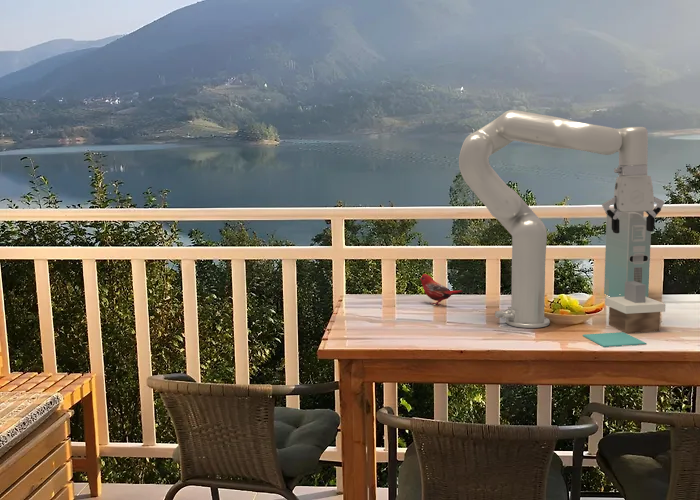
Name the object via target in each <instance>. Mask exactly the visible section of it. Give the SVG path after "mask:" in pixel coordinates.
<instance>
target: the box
mask: <svg viewBox="0 0 700 500" xmlns="http://www.w3.org/2000/svg"><path fill="white" fill-rule="evenodd" d="M608 307H609V306H608ZM608 309H609V310H608V326H610V327H612V328H614V329H616V330H618V331H620V332H624V333H626V334H636V333H635V332H640V333H654V332H655V333H656V332H660V331H661V330H660V328H661V312H648V313H631V314H625V313H623V312H620V311H618V310H616V309H613V308H611V307H609V308H608Z"/></svg>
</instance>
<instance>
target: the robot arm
mask: <svg viewBox="0 0 700 500" xmlns="http://www.w3.org/2000/svg"><path fill="white" fill-rule="evenodd" d="M648 133H649V132H648V129H647V128H646V127H644V126H629V127H628V126H627V127H623V128H614V127H610V126H605V125H599V124H592V123H586V122H581V121H576V120H571V119H567V118H563V117H559V116H558V117H557V116H552V115H547V114H540V113H534V112H529V111H522V110H517V109H509V110H507V111H504V112H503V113H502V114H501V115H499V116H498V117H496V118H495V119H494V120H492V121H490V122H489V123H487V124H486V125H484V126H482V127H481V128H479V129H478V130H476V131H474V132H471V133H470V134H469V135H467V136H466V137H465V139H464V141H463V142H462V146H461V149H460V152H459V155H458V166H459V171H460V175H461V177H462V179H463V181H464V182H465V183H466V185H467V186H468V187H469V189H470V190H471V191H472V192H473V194H475V195H476V196H477V199H479V201H481V203H482V204H483V205H484V206H485V207H486V209H487V210H488V212H489V213H490V215H492V217H494V219H496V220H497V221H498V222H499V223H500V224H501V226H502V227H503V228H504V229H505V230H507V231H506V232H508V233H509V234H510V235H511V238H512V239H511V241H512V243H511V299H510V300H511V304H510V305H511V306H507V309H506V310H499V311H498V310H497V311H495V313H494V316H495V318H496V319H497V318H498V319H499V318H502V319H505V323H506V324H507V325H508V326H512V327H516V328H521V329H522V328H524V329H539V328H545V327H547V326H549V325H550V323H551V322H550V319H549V318H548V317H545V304H546V303H545V301H546V300H545V299H546V292H545V291H546V255H547V254H546V253H547V242H548V238H547V237H548V233H547V228H546V225H545V224H544V222H543V220H541V218H540V217H539V216H538V215H537V214H536V213H535V212H534V210H533V209H531V208H530V206H529V205H528V204H527V203H526V201H524V200H523V198H522V197H521V196H520V195H519V194H518V192H517V191H515V190H514V189H513V188H511V187H509V186H508V185H507V183H506V182H504V180H503V179H502V178H501V177H500V176H499V174H498V172H496V170H494V169H493V167H492V166H491V164H490V160H489V158H490V156H492V155H494V154H495V153H497V152H498V151H499V150H502V149H503V148H505V147H506V146H508V145H509V144H511V143H512V142H514V141H515V142H520V143H526V144H532V145H537V146H543V147H548V148H554V149H569V150H576V151H582V152H588V153H594V154H599V155H603V156H611V155H614V154H615V153H618V167H615V168H614V169H613V171H614V173H615V174H618V176H617V177H616V180H615V184H614V192H613V197H611V199H608V200H606V201H605V202H603V203H602V204H601V206H602V208H603V210H604V212H605V214H606V216H607V215H608V216H609V217H610V218H611V219H612V230H613V232H614V233H619V219H618V217H619V216H620V214H621V213H622V212H624V213H627V212H644V213H645V214H647V216H646V219H645V220H646V230H647V231H650V232H651V233H652V232H654V229H655V226H656V225H655V223H656V222H655V219H656V217H657V215H658V214H659V213H660V212H661V211H662V208H663V207H664V204H665V201H664V200H662V199H660V198H658V197H656V196H654V187H653V181H652V177H651V176H652V175H648V150H649V149H648V148H649V147H648V142H649V141H648V138H649V137H648V135H649V134H648ZM655 204H656V206H655ZM611 205H612V206H613V208H614V211H613V212H612V211H611V210H610V208H611V207H610V206H611Z"/></svg>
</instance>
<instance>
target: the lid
mask: <svg viewBox="0 0 700 500" xmlns="http://www.w3.org/2000/svg"><path fill="white" fill-rule="evenodd" d="M645 296H646V285H645V284H642V283H639V282H636V281H627V282H625V295H624V297H608V296H606V297H604V305H605V306H607V307H611V308H613V309H616V310H618V311H620V312H623V313H625V314H631V313H648V312H660V313H665V312H666V303H665V302H661V301H659V300H656V299H653V298H651V297H649V296H648V297H645Z"/></svg>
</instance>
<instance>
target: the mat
mask: <svg viewBox="0 0 700 500" xmlns="http://www.w3.org/2000/svg"><path fill="white" fill-rule="evenodd" d="M582 337H583V338H586V339H587V340H590V341H591V342H592V343H593V342H594V343H595V344H597V345H599V346H601V347H602V346H603V348H610V347H609V346H616V347H623V346H622V345H632V346H639V345H638V344H646V345H647V342H645V341H643V340H640V339H638V338H637V337H634V336H633V335H631V334H629V333H625V332H623V331H620V332H603V333H601V332H600V333H589V334H587V333H586V334H582Z"/></svg>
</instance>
